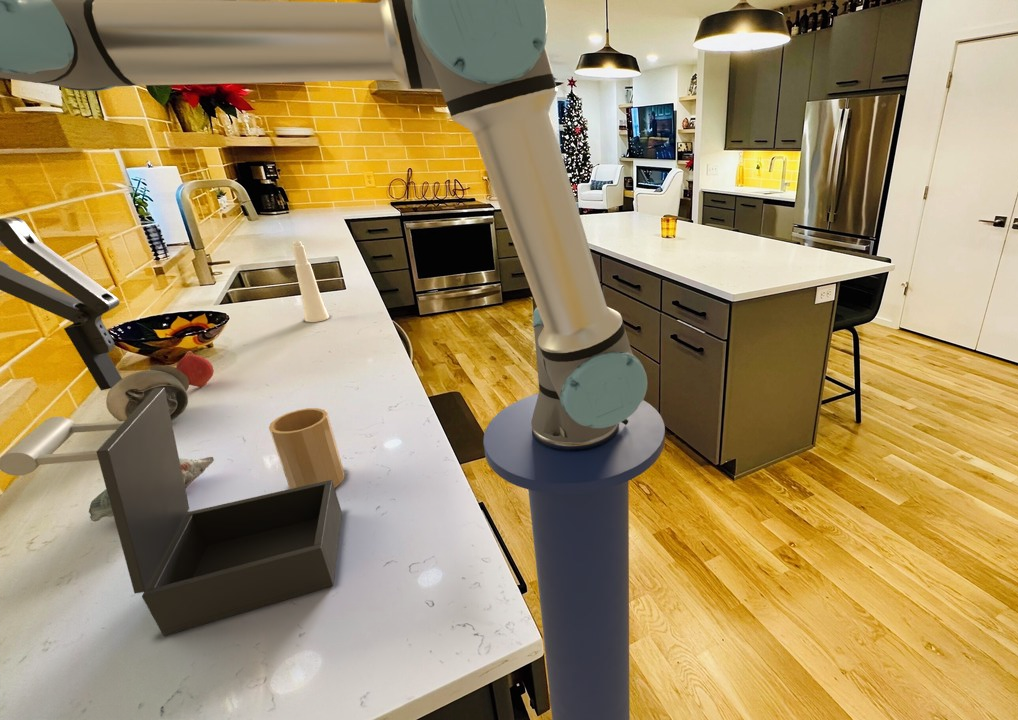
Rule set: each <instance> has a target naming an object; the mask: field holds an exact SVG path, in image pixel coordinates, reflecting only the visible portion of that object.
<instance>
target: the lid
mask: <svg viewBox="0 0 1018 720" xmlns="http://www.w3.org/2000/svg"><path fill="white" fill-rule="evenodd" d="M106 431H113V433H111V435H110V436H109V437H108V438H107V439H106V440H105V442H104V443H103V444H102V445H100V446H99V448H98V449H97V450H87V451H85V450H84V451H75V452H74V451H73V452H62V453H55V452H56V451H57V450H58V449H59V448H60V447H61V446H62V445H63V444H64V443H65V442H67V440H69V438H71V437H72V436H73V435H74V434H75V433H91V432H92V433H93V432H106ZM179 459H180V456H179V452H178V446H177V442H176V437H175V433H174V428H173V422H172V421H171V417H170V412H169V407H168V402H167V397H166V392H165V388H155V389H154V390H153V391H152V392H151V393H150V394H149V396H148V397H147V398H146V399H145V400H144V401H143V402H142V403H141V404H140V405H139V406H138V407H137V408H136V409H135V411H134V412H133V413H132V414H131V415H130V416H129V417H128V418H127V419H126V420H125V421H118V420H117V421H100V422H86V423H85V422H84V423H75V422H74V421H73V420H72V419H70V418H68V417H64V416H52V417H49V418H47V419H45V420H44V421H43V422H41V424H39V425H38V426H37V427H35V428H34V429H33V430H32V431H30V433H28V434H27V435H26V436H24V437H23V438H22V439H21V440H19V441H18V442H17V443H16V444H15V445H13V446H12V447H11V448H10V449H9V450H7V451H6V452H5V453H4V454H2V455H1V456H0V471H1V472H2V473H3V474H7V475H10V476H17V477H20V476H26V475H30V474H31V473H33V472H34V471H35V470H37V469H38V468H39V466H42V465H43V466H44V465H54V464H66V463H78V462H89V461H90V462H91V461H98V463H99V467H100V470H101V471H100V472H101V474H102V478H103V481H104V485H105V490H106V489H107V493H108V497H109V501H110V504H111V508H112V512H113V515H114V516H113V519H114V522H115V526H116V530H117V534H118V538H119V541H120V545H121V548H122V552H123V556H124V560H125V564H126V567H127V571H128V574H129V579H130V582H131V586H132V590H133V593H134V594H140V593H141V594H142V593H144V592H145V590H146V588H147V586H148V585H149V583H150V581H151V579H152V577H153V575H154V573H155V571H156V570H157V568H158V566H159V564H160V562H161V560H162V558H163V557H164V555H165V553H166V551H167V549H168V547H169V545H170V544H171V542H172V540H173V538H174V536H175V534H176V532H177V531H178V529H179V527H180V525H181V523H182V521H183V519H184V518H185V516H186V514H187V512H189V510H190V505H189V500H188V496H187V490H186V489H185V485H184V480H183V475H182V471H181V466H180V461H179Z"/></svg>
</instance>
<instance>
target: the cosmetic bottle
mask: <svg viewBox="0 0 1018 720" xmlns="http://www.w3.org/2000/svg"><path fill="white" fill-rule="evenodd" d="M291 245H292V247H291V249H292V253H293V256H294V260H295V264H294V267H295V272H296V277H297V281H298V282H297V283H298V287H299V291H300V296H301V300H302V305H303V313H304V321H305V322H307V323H317V322H323V321H326V320H327V319H329V318H330V315H329V314H328V311H327V309H326V306H325V304H324V301H323V298H322V296H321V293H320V289H319V286H318V283H317V280H316V277H315V274H314V273H315V272H314V270H313V268H312V265H311V263H310V262H309V261H308V257H307V253H306V250H305V249H306V248H305V246H304V244H303V242H302V241H292V242H291Z"/></svg>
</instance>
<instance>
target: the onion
mask: <svg viewBox="0 0 1018 720" xmlns="http://www.w3.org/2000/svg"><path fill="white" fill-rule="evenodd" d="M175 368H177V369H178V370H179V371H181V372H182V373H184V374H185V375H186V376H187V378H188V380H189V386H192V387H198V388H202V387H205V386H206V384H207V383H208V382H209V381H210V380H211V379H212V378H213V376H214V372H215V371H214V367H213V365H212V362H210V360H208V359H207V358H205V357H203V356H200V355H196V354H194V353H193V351H192V350H191V351H187V352H186V353H185V354H184V356H183V357H182V358H181V359H180V360H178V362H177V364H176V366H175Z"/></svg>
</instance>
